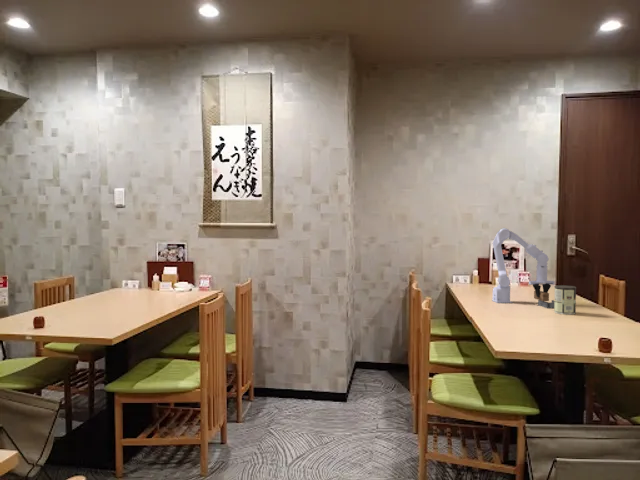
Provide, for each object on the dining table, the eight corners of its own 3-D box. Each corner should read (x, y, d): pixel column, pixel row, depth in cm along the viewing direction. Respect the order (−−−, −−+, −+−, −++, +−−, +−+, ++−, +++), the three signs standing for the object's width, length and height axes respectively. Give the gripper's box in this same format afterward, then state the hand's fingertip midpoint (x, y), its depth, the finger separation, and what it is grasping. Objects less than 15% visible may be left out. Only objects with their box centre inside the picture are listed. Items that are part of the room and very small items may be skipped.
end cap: (537, 305, 275) (537, 300, 275) (552, 305, 275) (553, 300, 275) (546, 308, 265) (546, 302, 265) (562, 308, 266) (562, 302, 266)
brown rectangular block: (548, 301, 275) (549, 293, 274) (542, 301, 274) (543, 293, 274) (539, 298, 285) (539, 290, 284) (534, 298, 284) (534, 290, 284)
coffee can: (563, 310, 259) (564, 284, 258) (580, 314, 250) (581, 287, 249) (549, 311, 255) (550, 285, 255) (565, 315, 246) (566, 288, 245)
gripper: (533, 274, 274) (532, 297, 275) (557, 274, 275) (557, 297, 276) (527, 273, 281) (526, 296, 282) (550, 272, 282) (550, 295, 283)
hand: (541, 296), depth 279 cm, fingers closed on brown rectangular block, 3 cm apart
